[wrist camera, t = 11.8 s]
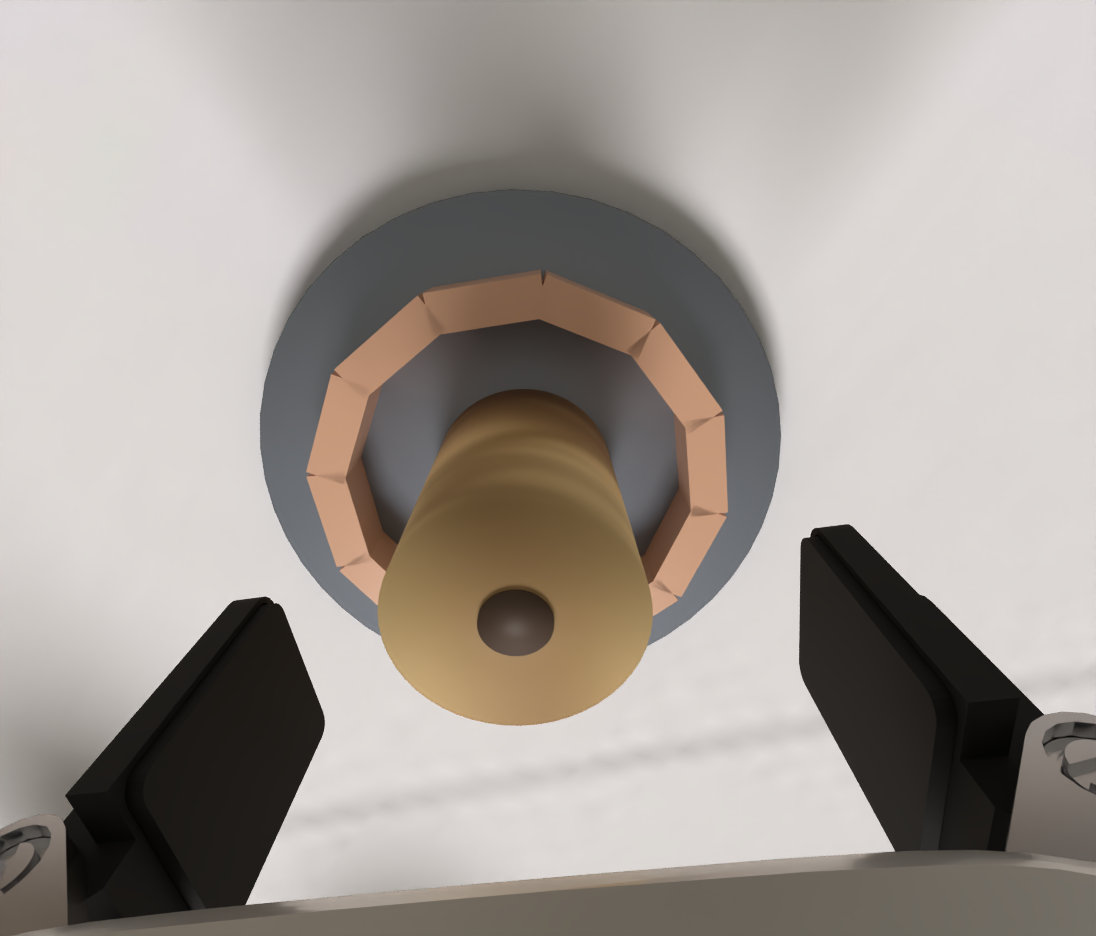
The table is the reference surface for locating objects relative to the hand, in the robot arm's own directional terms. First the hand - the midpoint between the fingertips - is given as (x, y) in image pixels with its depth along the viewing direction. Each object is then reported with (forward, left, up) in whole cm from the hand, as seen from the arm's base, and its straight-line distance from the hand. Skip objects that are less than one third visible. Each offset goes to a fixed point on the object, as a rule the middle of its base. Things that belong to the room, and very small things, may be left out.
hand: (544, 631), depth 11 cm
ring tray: (+1, 0, -8) cm, 8 cm away
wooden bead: (+1, 0, -7) cm, 7 cm away
